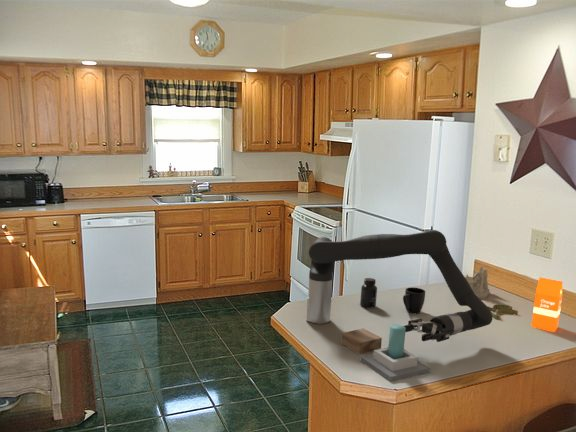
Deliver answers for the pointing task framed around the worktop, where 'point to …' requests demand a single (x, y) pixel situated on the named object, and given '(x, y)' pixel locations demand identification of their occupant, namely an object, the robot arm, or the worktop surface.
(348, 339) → the stand
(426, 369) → the socket base
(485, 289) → the sand castle
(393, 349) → the peg
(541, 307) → the orange juice
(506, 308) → the cookie cutter
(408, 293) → the mug
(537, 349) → the worktop surface
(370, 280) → the supplement bottle
